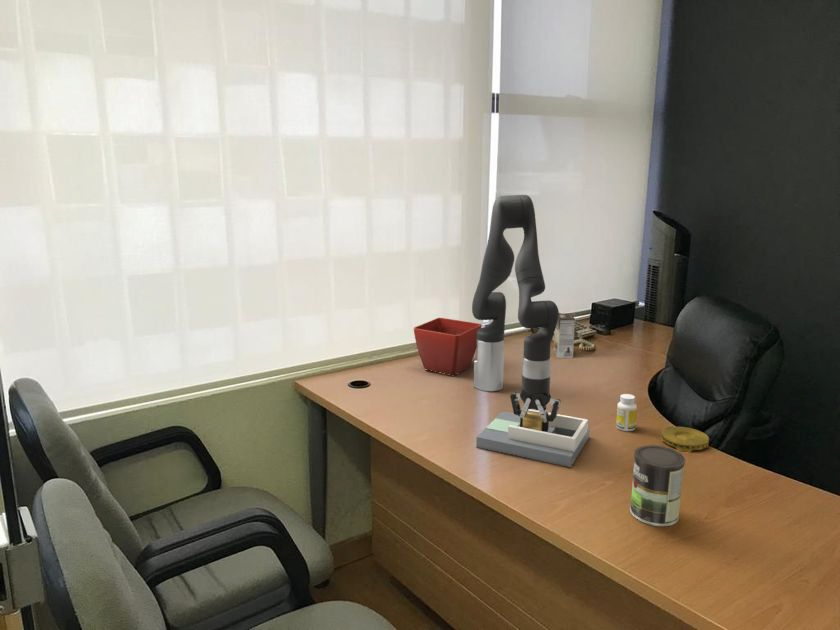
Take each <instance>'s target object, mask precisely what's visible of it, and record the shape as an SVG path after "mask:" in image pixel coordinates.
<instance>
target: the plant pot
mask: <svg viewBox="0 0 840 630" xmlns="http://www.w3.org/2000/svg"><path fill="white" fill-rule="evenodd" d="M481 328H482V323H476V322H473V321H472V322H470V321H465V320H458V319H453V318H452V319H451V318H445V317H437V318H434V319H432V320H430V321H427V322H424V323H422V324H419V325H417V326H415V327H413V335H414V339H415V343H416V348H417V351H418V355H419V357H420V360H421V364H422V366H423V368H424V370H425V369H427V370H432V371H436V372H441V373H445V374H450V375H455V376H457V375H458V374H457V373H459V372H460V373H462V372H464V371H466V370H467V369H468V367H469V368H470V366H471V364H472V362H473V360H474V357H475V354H476V351H477V331H478V330H479V329H481ZM466 368H467V369H466ZM427 370H426V371H427ZM463 370H464V371H463ZM461 371H462V372H461ZM436 372H435V373H436ZM441 373H440V374H441ZM460 373H459V374H460ZM445 374H444V375H445ZM456 374H457V375H456ZM450 375H449V376H450Z"/></svg>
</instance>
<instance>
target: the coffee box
mask: <svg viewBox="0 0 840 630" xmlns="http://www.w3.org/2000/svg"><path fill="white" fill-rule="evenodd" d="M575 329H576V318H575V317H574V316H573V314H572V313H570V312H569V313H566V312H565V313H559V318H558V322H557V325H556V328H555V331H554V334H553V338H554V339H553V340H554V341H553V352H554V353H555V355H556V357H557V359H573V358H574V349H575V348H574V347H575V346H574V344H575V331H576V330H575Z"/></svg>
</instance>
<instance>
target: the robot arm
mask: <svg viewBox="0 0 840 630" xmlns="http://www.w3.org/2000/svg"><path fill="white" fill-rule="evenodd" d="M492 205H493V206H492V211H491V218H490V226H489V234H488V240H487V243H486V249H485V252H484V256H483V260H482V265H481V271H480V275H479V281H478V283H477V287H476V290H475V292H474V294H473V299H472V302H471V304H472V305H471V312H472V315H473V317H474V319H476V320H478V321H491V322H490V323H489V324H487V325H486V326H483V327H481V329H479V330H478V331H477V348H476V351H475V354H476V357H475V360H474V361H473V388H475V389H478V390H481V391H483V392H484V391H485V392H497V391H500V390H502V389H503V387H504V354H505V352H504V351H505V348H504V347H505V329H506V327H505V325H506V324H505V323H506V314H507V313H506V312H507V301H506V296H505V293H504V292H501V291H495V290H496V289H498V287H500V286H502V284H503V283H505V282H506V281H507V279H508V278H509V277H510V276H511V273H512V270H513V266H514V271H515V277H516V282H517V286H518V308H517V309H518V310H517V319H518V322H519V324H520V325H521V326H522V327H523V328H525V329H537V328H538V331H537V332H535V333H532V334H529V335H527V336H525V337H524V340H523V358H522V365H521V366H522V367H521V391H520V392H517V391H513V392H512V393H511V394H510V402H511V406H512V410H513V411H512V413H514V414H515V415H518V416H520V427H522V428H523V418H524V417H525V416H526V414H527V412H528V410H529V409H531V410H537V411H539V413H540V415H541V417H542V420H543V422H542V431H543V432H547V431H548V427H549V421H551V422H553V421H554V419H555V418H556V416H557V414H558V411H559V408H560V406H561V401H562V400H561V399H559V398H558V399H555V398H553V397H552V395H551V394H550V390H551V388H550V387H551V386H550V385H551V374H552V373H551V371H552V370H551V369H552V368H551V367H552V364H551V345H552V340H553V338H554V333H555V328H556V325H557V322H558V318H559V314H560V311H559V307H558V305H557V304H556V303H555V302H554V301H552V300H534V301H532V298H533V297H537V296H539V295H541V294H543V293H544V291H546V283H545V279H544V275H543V270H542V266H541V262H540V255H539V244H538V243H539V242H538V232H537V231H538V230H537V221H536V212H535V206H534V203H533V200H532V198H531V196H529V195H528V194H512V195H511V194H510V195H501V196H498V197H496V198H495V200H494V202H493V204H492ZM521 228H522V229H523V230H522V231H523V240H522V244H521V246H520V248H519V251H518V253H517V256H516V260H515V252H514V251H513V248H512V246H511V245H510V244H509V242H508V241H507V240H506V237H505V236H504V231H505V230H508V229H521ZM520 399H521V401H522V402H523V406H522V409H521V406H520ZM549 403H550V406H551V407H552V409H551V412H550V413H551V415H549V414H548V413H549V409H548V406H547V405H548V404H549Z"/></svg>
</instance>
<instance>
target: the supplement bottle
mask: <svg viewBox="0 0 840 630" xmlns="http://www.w3.org/2000/svg"><path fill="white" fill-rule="evenodd" d="M619 399H620V401H619V402H618V403H617V405H616V406H617V408H616V422H615V423H616V424H615V427H616V429H618V430H619V431H623V432H633V431H635V429H636V426H637V425H636V424H637V415H638V414H637V412H638V411H637V410H638V408H637V407H638V406H637V403H636V396H635V395H633V394H629V393H623V394H620V398H619Z"/></svg>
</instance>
